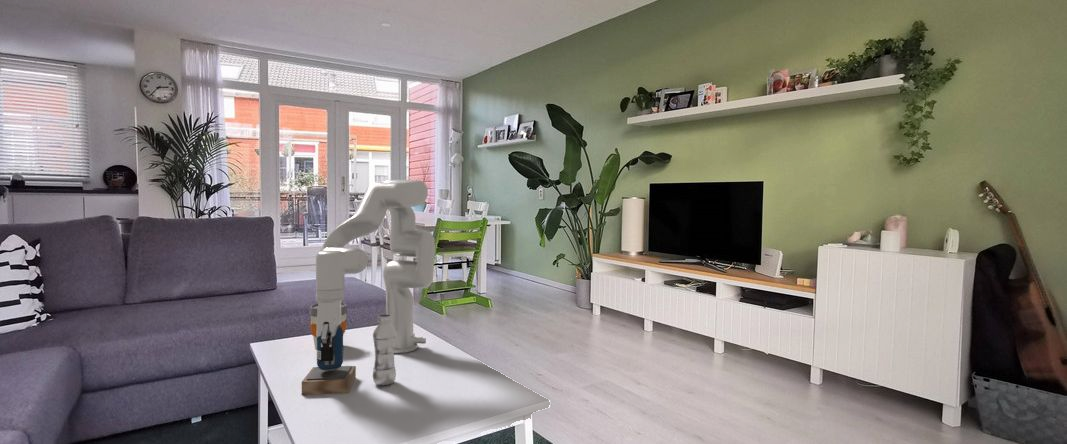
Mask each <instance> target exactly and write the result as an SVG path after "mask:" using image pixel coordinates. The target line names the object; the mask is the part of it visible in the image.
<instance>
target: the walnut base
mask: <svg viewBox="0 0 1067 444" xmlns="http://www.w3.org/2000/svg"><path fill="white" fill-rule="evenodd" d="M356 366H357V365H341V367H340V368H338V369H336V370H331V371H323V370H320V369H319V367H318V366H313V367H312V368H311V369H310V371H309V372H308V373H307V374H306V376H305V377H304V378H303V379H302V380H301V396H303V395H304V396H305V395H306V396H308V395H324V394H325V395H330V394H331V395H332V394H334V395H335V394H348V393H349V391H350V390H351V388H352V386H353V384H354V382H355V379H356V377H357V374H356V373H357V372H356V371H357V370H356V369H357V367H356Z"/></svg>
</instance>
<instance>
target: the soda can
mask: <svg viewBox="0 0 1067 444" xmlns="http://www.w3.org/2000/svg"><path fill="white" fill-rule="evenodd" d="M321 334H322V333H321ZM328 335H331V333H328ZM321 336H322V335H321ZM321 336H320V337H317V350H316V367H319V369H320V370H323V371H331V370H336V369H338V368H340V367H341V366H343V363H344V334H343V330H342V328H341V325H340V326H339V327H338V328H337V332H336V335H335V336H334V337H333V343H332V346H333V361H321V340H322V339H321ZM327 339H329V341H330V338H327Z"/></svg>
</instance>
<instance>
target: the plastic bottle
mask: <svg viewBox="0 0 1067 444" xmlns="http://www.w3.org/2000/svg"><path fill="white" fill-rule="evenodd" d="M390 322H392V320H391V315H389V314H386V313H385V314H378V316H377V323H378V324H377V326H376V327H375V329H374V330H373V333H372V339H373V340H372V341H373V346H374V367H373V371H372V380H373V383H374V384H375V385H377V386H388V385H391V384H394V382H395V381H396V377H397V371H396V370H397V369H396V365H395V353H394V345H395V338H396V332H395V329H394V327H393V326H392V325H391V323H390Z"/></svg>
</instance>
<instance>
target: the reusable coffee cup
mask: <svg viewBox="0 0 1067 444" xmlns="http://www.w3.org/2000/svg"><path fill="white" fill-rule="evenodd" d="M318 303H319V302H317V303H315V304H312V305H311V304H310V307H309V312H308V313H309V316H310V320H311V321H310V322H309V323H310V330H311V331H310V332H311V336H313V345H314V349H315V350H316V351H317V336H316V330H317V311H318ZM347 306H348V305H347V303H345V302H341V328H342V330H343V335H344V334H345V333H346V328H347V326H346V325H347V319H346V317H347V314H348V307H347Z"/></svg>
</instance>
